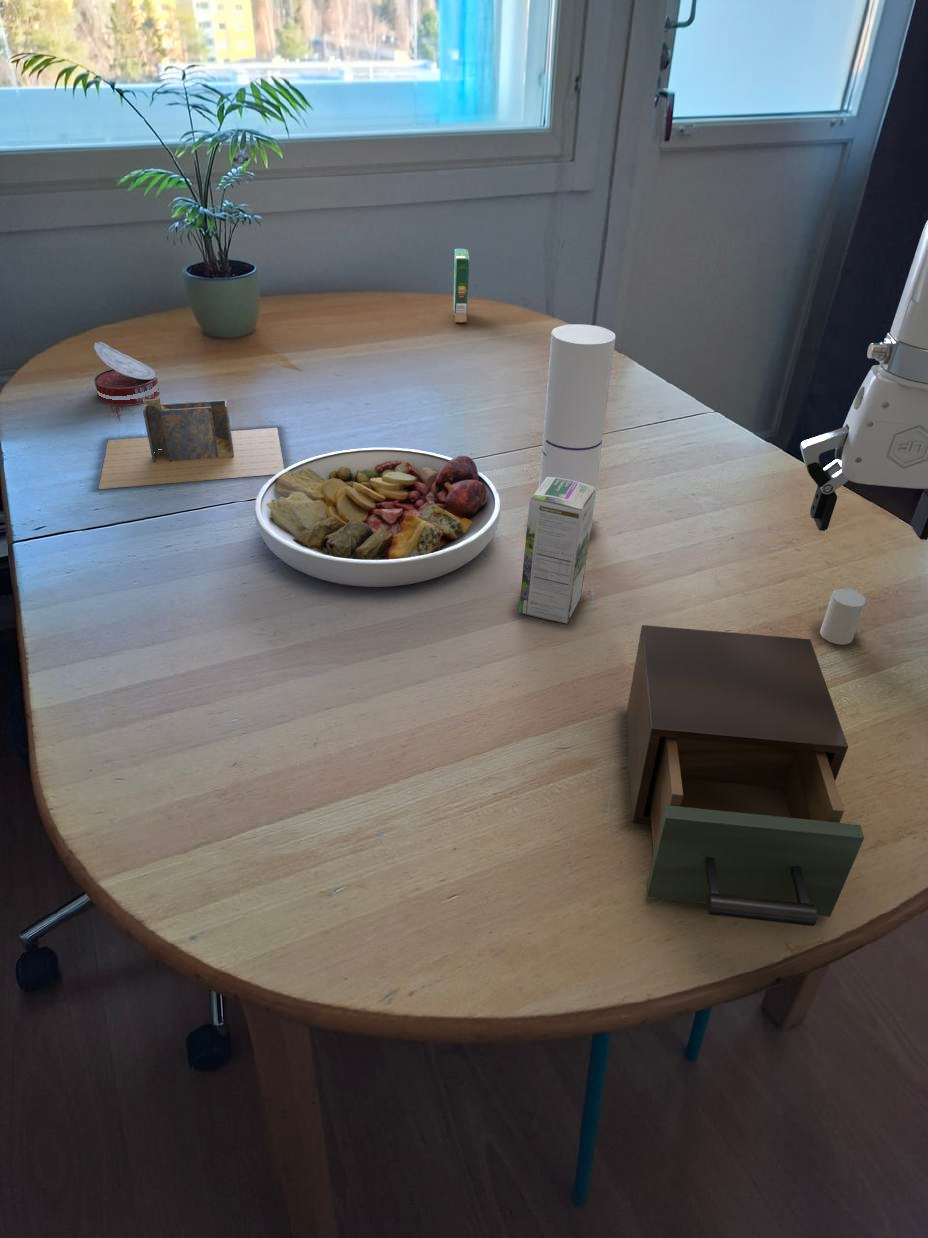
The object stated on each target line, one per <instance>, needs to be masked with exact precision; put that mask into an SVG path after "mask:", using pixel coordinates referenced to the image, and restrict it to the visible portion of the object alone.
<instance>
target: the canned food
mask: <svg viewBox="0 0 928 1238" xmlns="http://www.w3.org/2000/svg"><path fill="white" fill-rule="evenodd" d="M93 349H94V351H95V354H96V355H97V357H98V359H100V361H102V363H104V364H105V365H106V366H107V367H109V368H111V369H108V370H105V371H103V372H100V373H98V374H97V375H96V376H95V377H94V378H93V379H94V380H93V381H94V386H95V390H96V389H97V390H96V394H97V399H98V401H100V402H101V403H103V404H105V405H109V406H117V407H125V406H126V407H128V406H137V405H141V404H143V400H150V399H157V398H159V395H160V393H161V391H160V392H157V391H156V392H154V393H153V394H151V395H148V396H145V397H142V398H137V399H130V400H112V399H106V398H103V397H101V396H99V395H98V393H97V391H99V392H100V393H102V394H105V395H109V396H127V395H133V394H138V393H142V392H145V391H147V390H150V389H152V388H153V387H154V386H155V385H156V384H157V383H158V384H159V379H158V374H157V372H156V371H155V370H153V369H152V368H151V367H150V366H149V365H147V364H145V363H143V362H142V361H140V360H138V359H136V358H133V357H132V356H130V355H127V354H124V353H123V352H121V351H119V350H117V349H115V348H112V346H109V345H108V344H106V343H104V342H102V341H98V342H94V347H93ZM142 399H143V400H142Z"/></svg>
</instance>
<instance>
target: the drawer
mask: <svg viewBox="0 0 928 1238" xmlns="http://www.w3.org/2000/svg"><path fill="white" fill-rule="evenodd" d="M649 802H650V814H651V824H650V825H651V826H650V827H651V837H652V850H653V852H652V853H653V854H652V858H651V861H650V866H649V871H648V874H647V875H648V876H647V880H646V884H645V887H646V897H647V898H651V899H659V900H669V901H677V902H678V901H679V902H688V903H697V904H706V906H705V907H706V913H707V914H708V915H709V916H716V917H724V918H733V919H734V918H735V919H745V920H753V921H762V922H769V923H770V922H772V923H780V924H789V925H790V924H791V925H799V926H808V927H815V926H816V925H817V921H818V917H825V918H830V917H831V916H832V913H833V911H834V910H835V907H836V904H837V902H838V901H839V900H838V899H839V897H840V895H841V892H842V890H843V888H844V886H845V884H846V881H847V879H848V877H849V875H850V872H851V870H852V868H853V865H854V863H855V861H856V858H857V856H858V854H859V852H860V849H861V847H862V845H863V842H864V841H865V834H864V832H863V829H862V826H861V824H856V823H847V822H846V823H845V822H841V821H842V818H843V817H844V813H845V808H844V806H843V802H842V800H841V796H840V793H839V790H838V787H837V783H836V780H834V777H833V774H832V771H831V768H830V765H829V762H828V758H827V755H826V752H818V751H807V750H797V749H786V748H776V747H765V746H754V745H744V744H733V743H722V742H712V741H701V740H691V739H680V738H669V737H660V741H659V746H658V750H657V755H656V760H655V765H654V769H653V774H652V779H651V784H650V788H649Z"/></svg>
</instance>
